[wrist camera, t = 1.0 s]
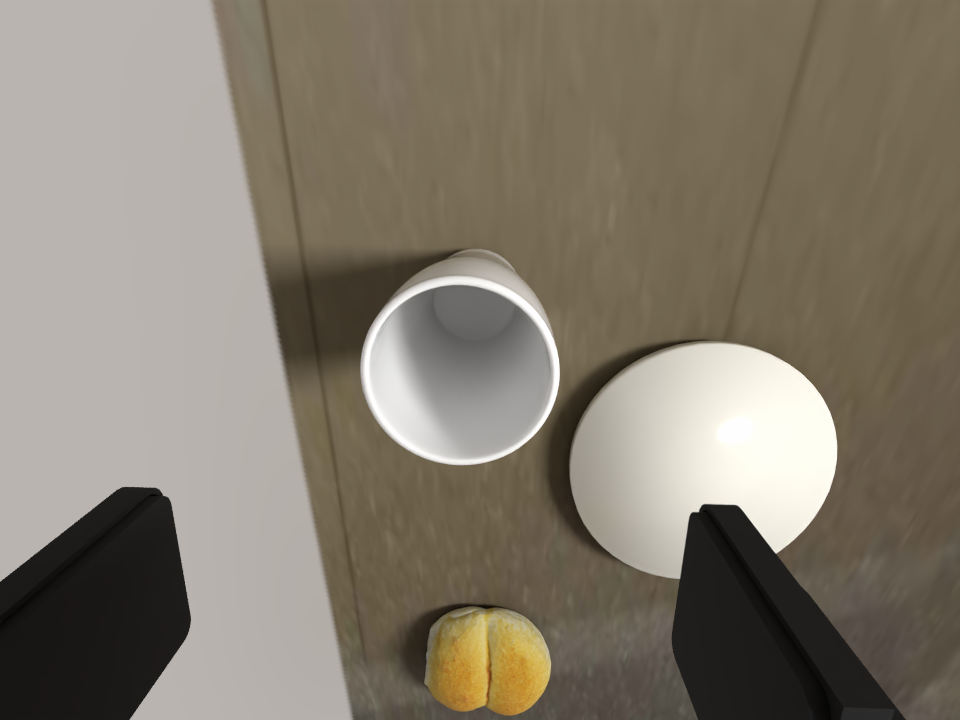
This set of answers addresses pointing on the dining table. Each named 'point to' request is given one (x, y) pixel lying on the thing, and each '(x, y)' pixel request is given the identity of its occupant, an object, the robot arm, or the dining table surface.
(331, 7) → the dining table surface
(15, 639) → the robot arm
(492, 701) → the bread roll
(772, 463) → the cream dish
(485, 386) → the white cup
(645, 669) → the dining table surface
